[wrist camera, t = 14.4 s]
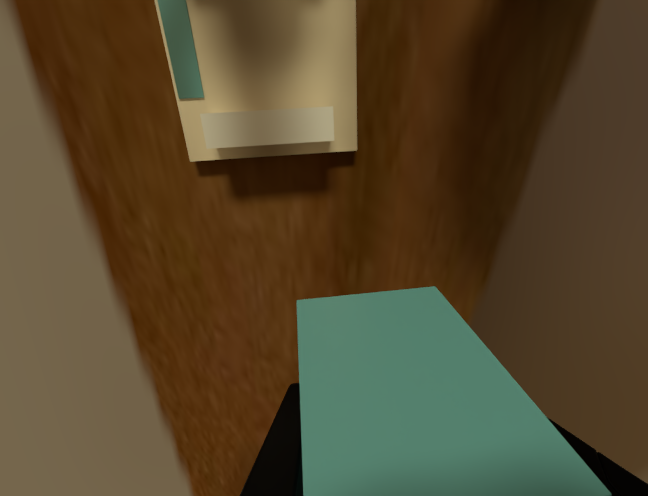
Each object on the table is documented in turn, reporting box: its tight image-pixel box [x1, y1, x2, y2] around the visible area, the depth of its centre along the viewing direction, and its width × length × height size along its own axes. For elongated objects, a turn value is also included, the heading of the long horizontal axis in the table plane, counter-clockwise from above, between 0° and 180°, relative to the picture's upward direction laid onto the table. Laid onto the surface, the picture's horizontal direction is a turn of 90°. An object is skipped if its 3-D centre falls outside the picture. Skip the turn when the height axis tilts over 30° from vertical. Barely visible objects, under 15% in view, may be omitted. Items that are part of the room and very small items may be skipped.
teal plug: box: [297, 286, 612, 496], centre depth 7 cm, size 4×4×8 cm
